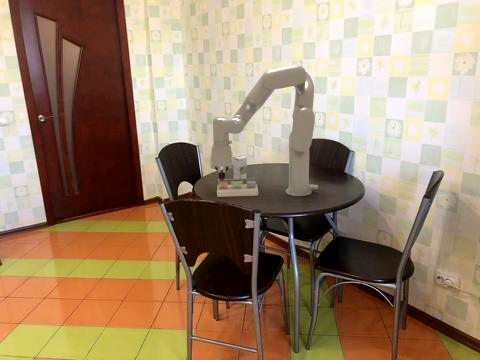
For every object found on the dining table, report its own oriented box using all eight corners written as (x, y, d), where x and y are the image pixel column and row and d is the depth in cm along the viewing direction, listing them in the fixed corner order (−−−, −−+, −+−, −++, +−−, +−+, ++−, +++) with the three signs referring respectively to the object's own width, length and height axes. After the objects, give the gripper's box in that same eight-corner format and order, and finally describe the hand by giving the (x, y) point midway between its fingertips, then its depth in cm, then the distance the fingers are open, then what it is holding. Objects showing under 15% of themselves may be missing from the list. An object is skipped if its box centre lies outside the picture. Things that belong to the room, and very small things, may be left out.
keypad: (256, 187, 196) (255, 178, 195) (258, 195, 183) (258, 185, 182) (217, 188, 196) (217, 179, 195) (217, 196, 182) (216, 186, 181)
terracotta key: (227, 184, 190) (227, 181, 189) (227, 186, 185) (227, 184, 185) (218, 184, 189) (218, 181, 189) (218, 187, 185) (218, 184, 185)
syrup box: (240, 180, 210) (239, 155, 206) (247, 182, 206) (247, 156, 202) (232, 182, 206) (231, 156, 202) (240, 184, 202) (239, 158, 198)
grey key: (255, 183, 190) (255, 180, 190) (256, 186, 186) (256, 183, 185) (246, 183, 190) (246, 180, 189) (246, 186, 185) (246, 183, 185)
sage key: (241, 183, 190) (241, 181, 189) (242, 186, 185) (241, 183, 185) (232, 184, 190) (232, 181, 189) (232, 186, 185) (232, 183, 185)
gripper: (236, 141, 186) (236, 177, 190) (206, 142, 185) (207, 178, 190) (236, 144, 178) (237, 181, 183) (205, 144, 178) (206, 182, 183)
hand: (221, 179), depth 187 cm, fingers closed
